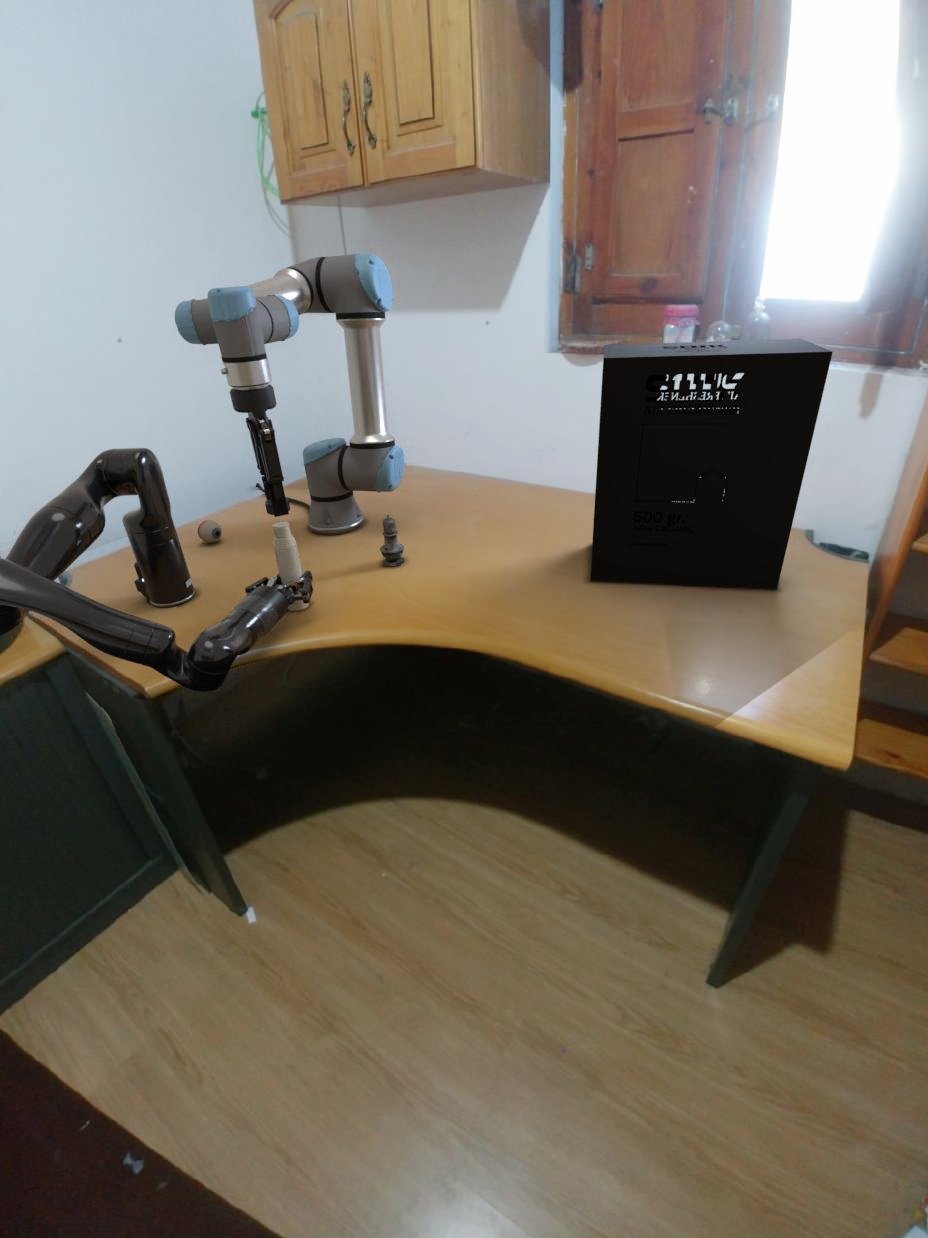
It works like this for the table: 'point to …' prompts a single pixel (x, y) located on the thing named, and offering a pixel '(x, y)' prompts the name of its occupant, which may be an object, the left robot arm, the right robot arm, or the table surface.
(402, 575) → the table surface
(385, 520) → the grey tall tiered piece
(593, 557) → the cardboard box
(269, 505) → the cap
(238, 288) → the right robot arm
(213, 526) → the eyeball
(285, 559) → the bottle
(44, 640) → the table surface
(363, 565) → the table surface
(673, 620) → the table surface
